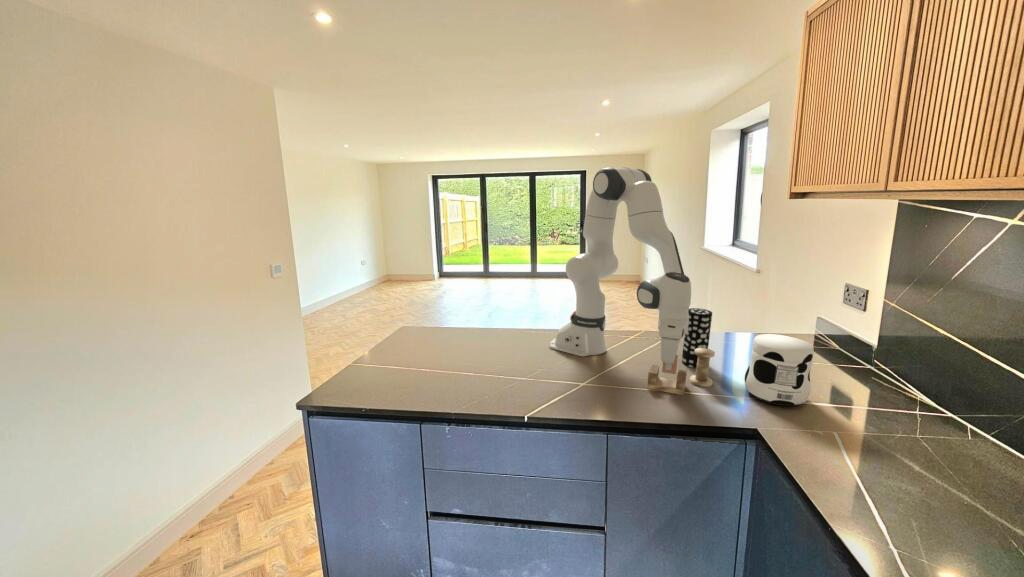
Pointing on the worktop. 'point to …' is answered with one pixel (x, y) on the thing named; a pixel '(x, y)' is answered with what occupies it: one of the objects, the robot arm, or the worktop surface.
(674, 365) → the orange block
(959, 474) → the worktop surface
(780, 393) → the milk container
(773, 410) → the worktop surface
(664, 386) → the notched board
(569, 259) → the robot arm
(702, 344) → the white-spotted black cylinder
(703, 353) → the bobbin
